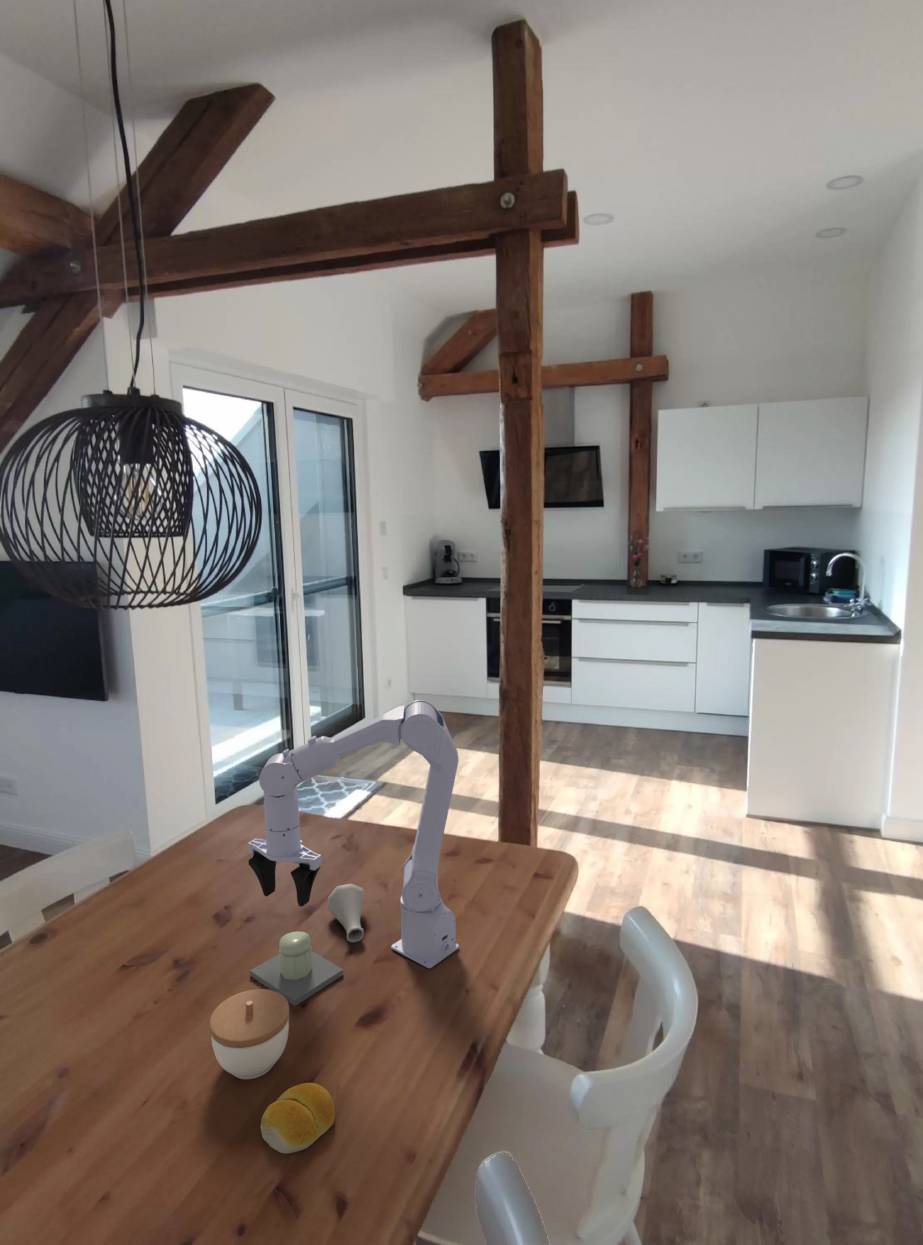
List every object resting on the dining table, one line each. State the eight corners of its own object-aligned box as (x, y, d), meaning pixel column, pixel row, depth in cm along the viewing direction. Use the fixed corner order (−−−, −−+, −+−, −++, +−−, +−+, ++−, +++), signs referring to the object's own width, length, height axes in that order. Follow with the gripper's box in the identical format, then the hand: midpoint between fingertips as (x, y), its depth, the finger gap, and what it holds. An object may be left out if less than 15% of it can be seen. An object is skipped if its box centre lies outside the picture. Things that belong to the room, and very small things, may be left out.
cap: (316, 963, 123) (315, 933, 122) (303, 981, 118) (301, 951, 117) (289, 959, 124) (287, 929, 123) (275, 977, 119) (273, 947, 118)
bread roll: (347, 1116, 93) (346, 1088, 93) (294, 1167, 86) (292, 1138, 85) (303, 1087, 98) (302, 1060, 97) (249, 1133, 91) (247, 1105, 90)
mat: (343, 974, 121) (343, 969, 121) (294, 1006, 114) (294, 1000, 113) (298, 948, 129) (298, 942, 129) (250, 975, 121) (250, 970, 121)
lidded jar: (307, 1052, 104) (304, 993, 103) (251, 1105, 95) (247, 1040, 93) (254, 1026, 109) (250, 969, 108) (196, 1073, 100) (191, 1012, 99)
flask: (369, 884, 139) (380, 920, 130) (357, 915, 141) (367, 953, 132) (333, 880, 136) (342, 917, 127) (321, 912, 138) (329, 950, 129)
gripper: (331, 823, 124) (334, 896, 126) (265, 808, 130) (269, 878, 132) (304, 840, 118) (308, 917, 120) (237, 823, 124) (242, 897, 126)
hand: (286, 898), depth 126 cm, fingers open, 7 cm apart
